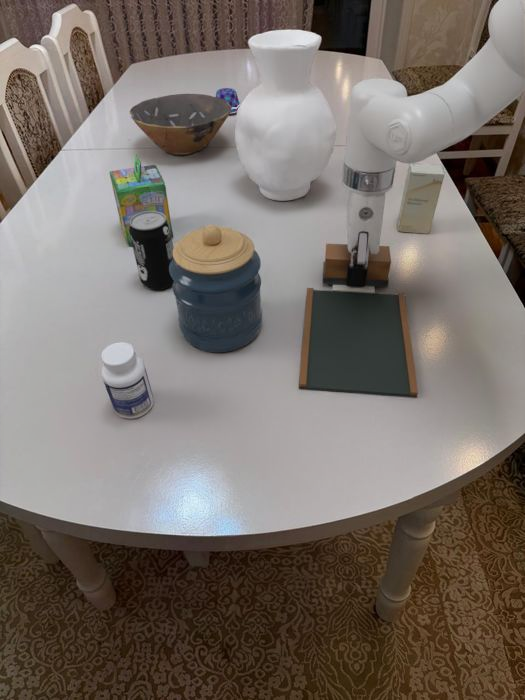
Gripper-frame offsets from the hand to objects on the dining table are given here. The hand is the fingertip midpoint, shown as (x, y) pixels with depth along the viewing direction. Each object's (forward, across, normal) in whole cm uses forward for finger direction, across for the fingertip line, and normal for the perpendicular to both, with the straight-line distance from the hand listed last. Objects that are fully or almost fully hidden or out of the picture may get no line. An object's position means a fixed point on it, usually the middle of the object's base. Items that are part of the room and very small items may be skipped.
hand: (355, 274), depth 86 cm
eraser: (0, 0, 0) cm, 0 cm away
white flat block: (+1, -3, -2) cm, 3 cm away
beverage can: (+1, -3, +34) cm, 34 cm away
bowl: (+1, +55, +43) cm, 70 cm away
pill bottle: (+1, -31, +30) cm, 43 cm away
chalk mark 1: (+1, -3, +2) cm, 4 cm away
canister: (+1, -14, +21) cm, 25 cm away
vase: (+1, +33, +15) cm, 36 cm away
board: (+1, -15, 0) cm, 15 cm away
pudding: (+1, +85, +37) cm, 93 cm away
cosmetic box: (+1, +19, -12) cm, 22 cm away
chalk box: (+1, +13, +41) cm, 43 cm away
